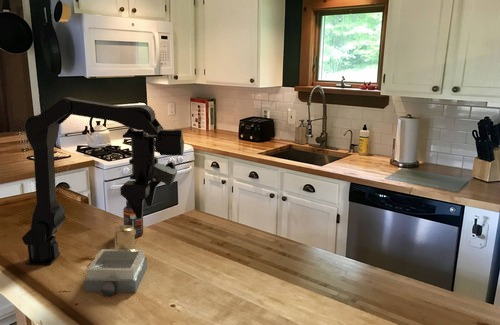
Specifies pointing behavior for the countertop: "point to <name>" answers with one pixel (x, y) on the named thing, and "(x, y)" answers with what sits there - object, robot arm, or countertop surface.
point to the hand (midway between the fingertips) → (144, 211)
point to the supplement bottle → (133, 220)
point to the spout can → (124, 237)
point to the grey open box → (115, 271)
